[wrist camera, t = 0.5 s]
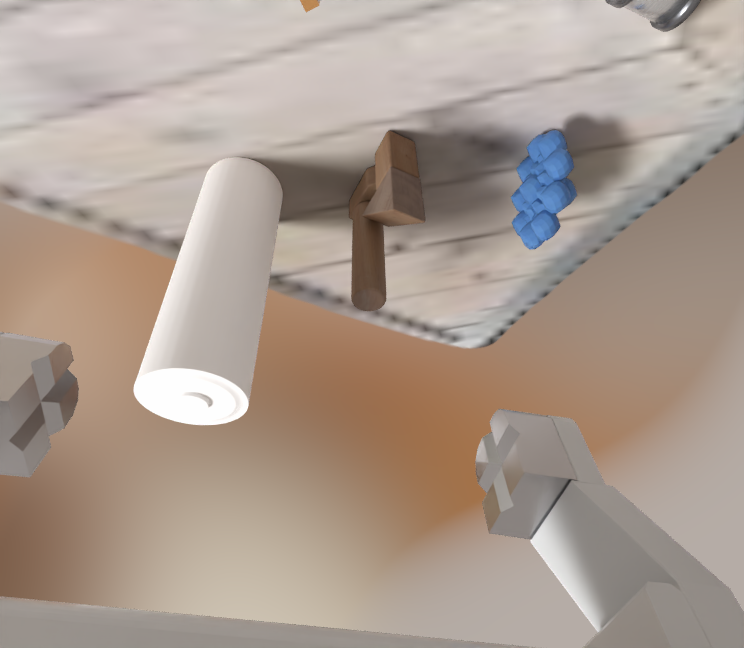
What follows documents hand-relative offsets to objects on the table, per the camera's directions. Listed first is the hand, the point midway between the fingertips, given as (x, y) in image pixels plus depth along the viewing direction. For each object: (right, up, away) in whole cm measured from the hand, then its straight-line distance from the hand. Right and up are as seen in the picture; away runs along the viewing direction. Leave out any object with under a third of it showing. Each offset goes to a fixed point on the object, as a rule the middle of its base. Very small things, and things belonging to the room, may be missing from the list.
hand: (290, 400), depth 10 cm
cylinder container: (-14, +18, +51) cm, 56 cm away
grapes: (+21, +21, +49) cm, 57 cm away
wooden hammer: (+3, +20, +50) cm, 53 cm away
